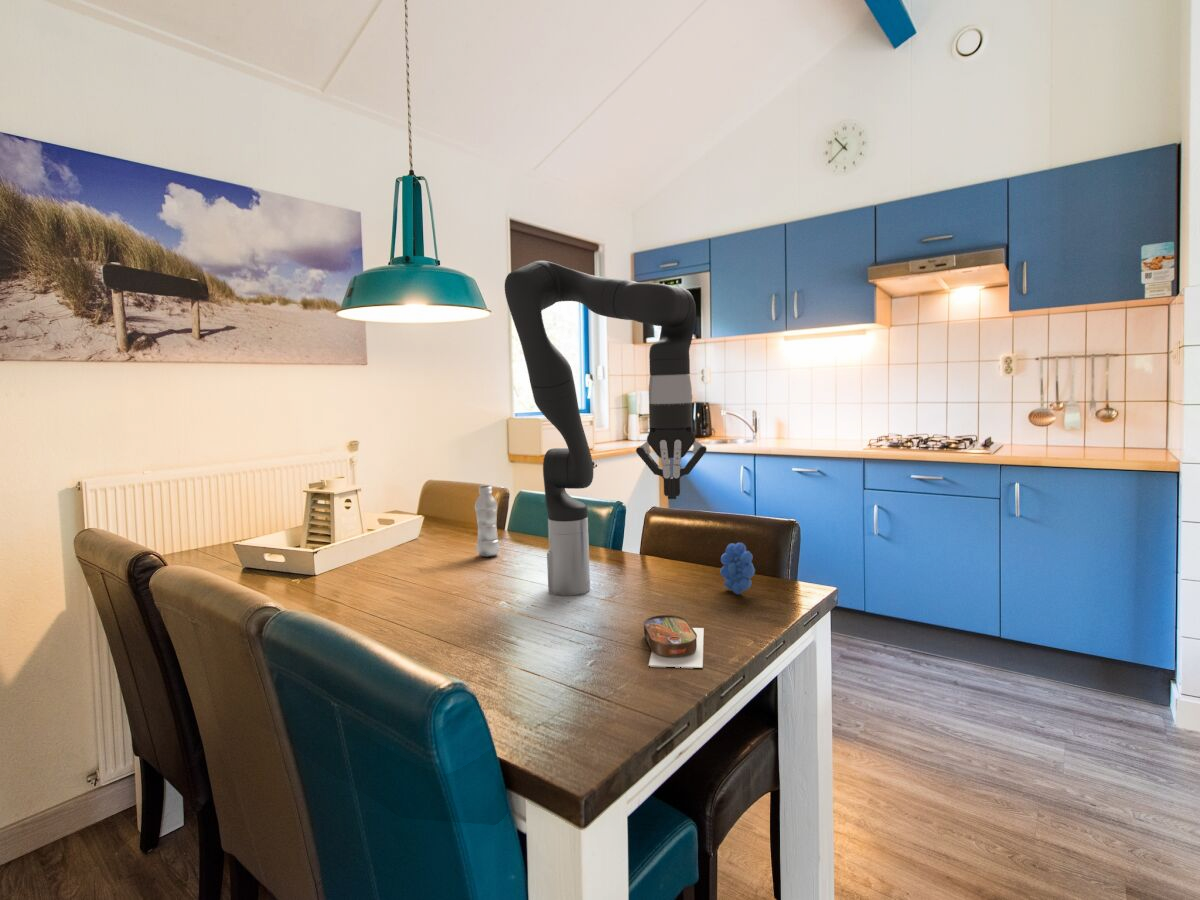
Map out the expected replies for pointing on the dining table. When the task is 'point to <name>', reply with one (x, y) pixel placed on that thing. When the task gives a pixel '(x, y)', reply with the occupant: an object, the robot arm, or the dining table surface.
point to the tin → (670, 635)
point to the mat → (682, 661)
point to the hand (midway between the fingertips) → (672, 498)
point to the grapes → (737, 568)
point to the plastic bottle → (487, 522)
